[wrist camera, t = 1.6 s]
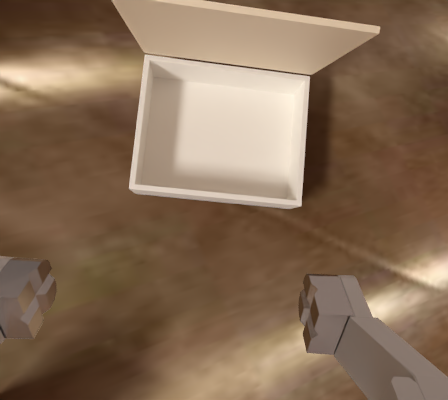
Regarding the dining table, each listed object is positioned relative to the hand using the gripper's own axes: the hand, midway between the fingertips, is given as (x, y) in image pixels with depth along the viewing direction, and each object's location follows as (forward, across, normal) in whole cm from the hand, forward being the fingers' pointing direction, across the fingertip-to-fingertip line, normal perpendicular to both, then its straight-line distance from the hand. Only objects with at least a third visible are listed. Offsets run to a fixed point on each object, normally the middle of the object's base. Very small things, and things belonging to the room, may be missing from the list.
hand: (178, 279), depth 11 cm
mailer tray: (+34, -1, +10) cm, 36 cm away
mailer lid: (+28, -2, -3) cm, 28 cm away
